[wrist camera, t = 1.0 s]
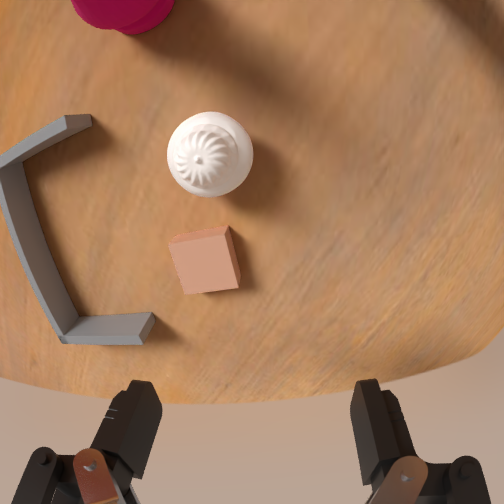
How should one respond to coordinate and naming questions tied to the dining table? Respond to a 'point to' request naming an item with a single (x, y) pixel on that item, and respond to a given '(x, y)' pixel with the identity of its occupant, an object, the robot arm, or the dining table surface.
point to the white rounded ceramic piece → (210, 154)
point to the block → (205, 260)
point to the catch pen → (38, 254)
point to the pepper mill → (123, 14)
